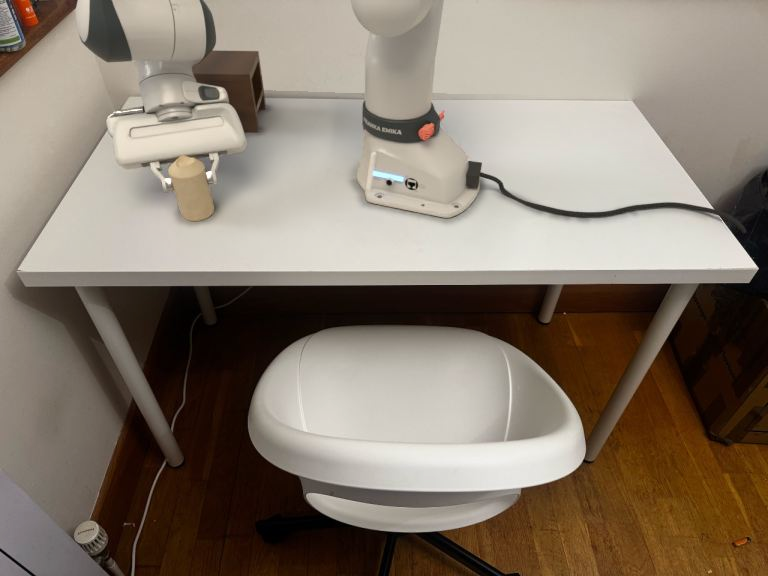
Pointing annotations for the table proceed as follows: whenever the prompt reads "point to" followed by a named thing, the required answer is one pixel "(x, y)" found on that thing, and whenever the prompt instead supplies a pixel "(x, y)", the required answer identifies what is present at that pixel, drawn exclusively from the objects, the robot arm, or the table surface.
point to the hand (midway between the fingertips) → (191, 186)
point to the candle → (191, 188)
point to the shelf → (236, 82)
